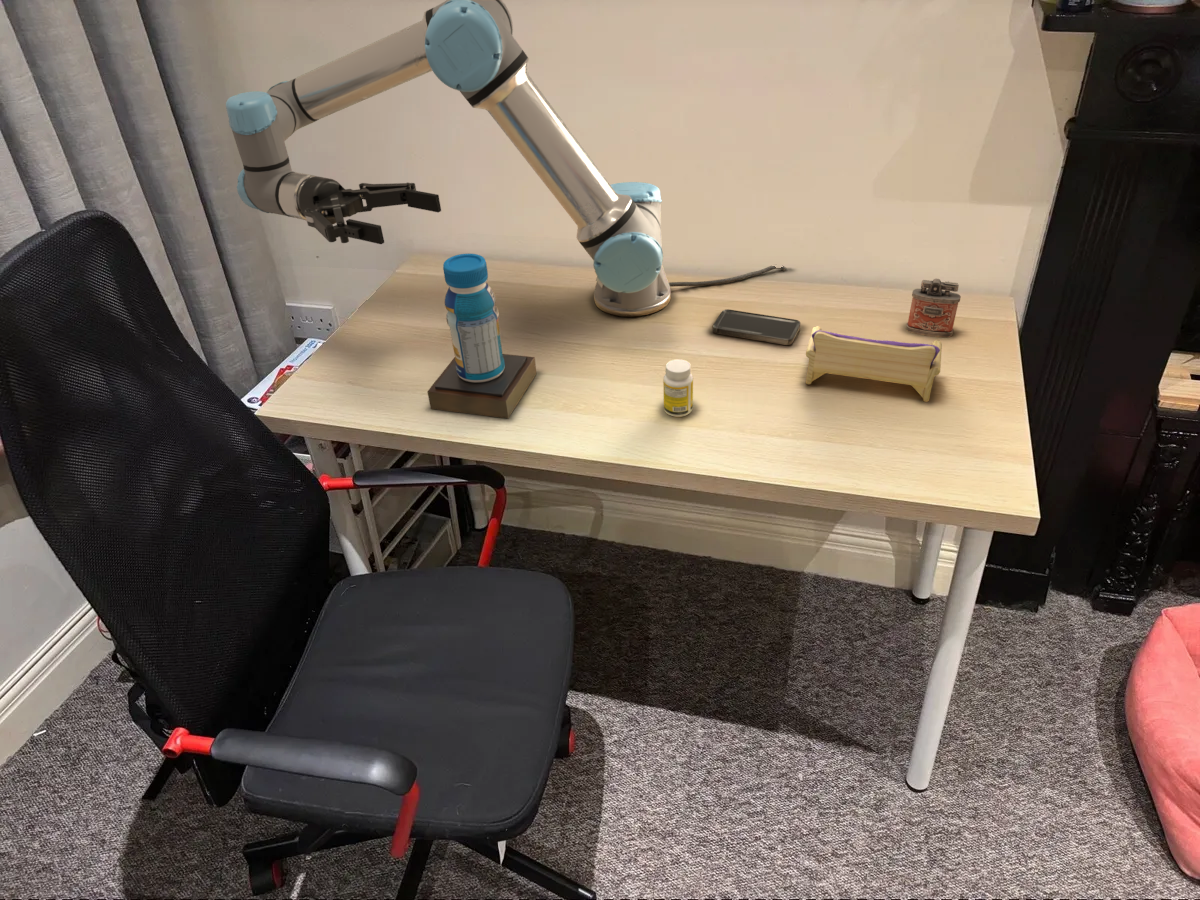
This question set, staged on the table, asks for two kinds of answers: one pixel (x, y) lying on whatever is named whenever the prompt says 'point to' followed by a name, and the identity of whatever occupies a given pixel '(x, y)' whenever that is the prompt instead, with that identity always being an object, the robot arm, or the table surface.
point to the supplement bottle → (678, 388)
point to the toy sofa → (874, 360)
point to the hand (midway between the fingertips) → (410, 218)
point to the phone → (756, 327)
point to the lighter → (933, 308)
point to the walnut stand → (484, 389)
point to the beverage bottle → (473, 319)
